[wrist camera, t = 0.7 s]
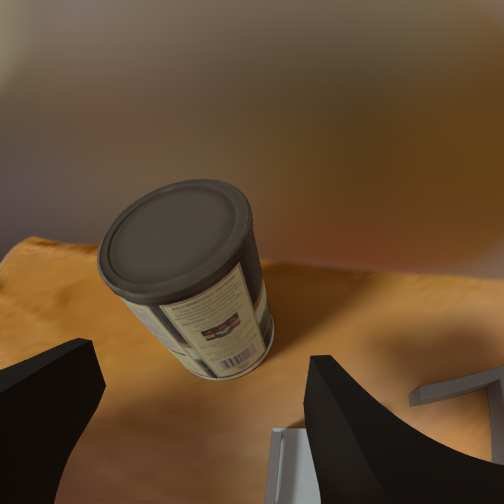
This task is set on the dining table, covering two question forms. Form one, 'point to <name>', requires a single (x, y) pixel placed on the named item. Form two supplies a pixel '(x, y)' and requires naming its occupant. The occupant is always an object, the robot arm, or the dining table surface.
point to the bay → (498, 389)
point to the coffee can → (193, 275)
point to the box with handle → (291, 469)
